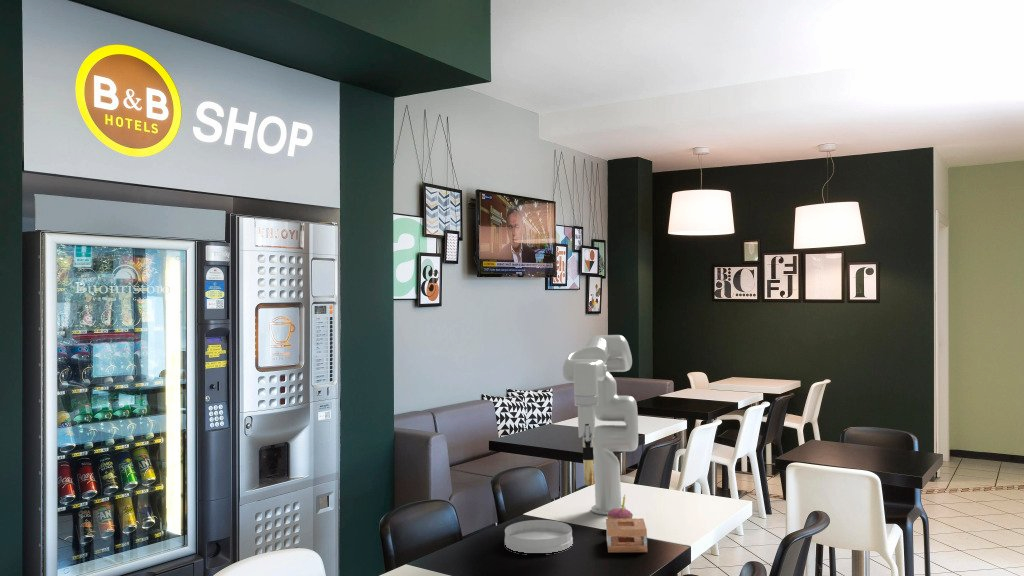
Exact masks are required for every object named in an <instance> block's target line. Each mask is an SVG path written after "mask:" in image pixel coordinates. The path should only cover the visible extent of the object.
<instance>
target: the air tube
mask: <svg viewBox="0 0 1024 576" xmlns="http://www.w3.org/2000/svg"><path fill="white" fill-rule="evenodd" d="M589 430H590V428H589ZM590 433H591V432H590ZM584 437H586V435H584ZM589 437H591V435H590V436H589ZM581 438H582V440H583V437H581ZM585 440H586V439H585ZM590 445H591V443H590ZM583 447H584V444H583V443H582V448H583ZM590 447H591V446H590ZM592 447H593V438H592ZM582 460H583V459H582ZM582 462H583V485H584V486H595V476H594V459H593V460H583V461H582Z"/></svg>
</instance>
